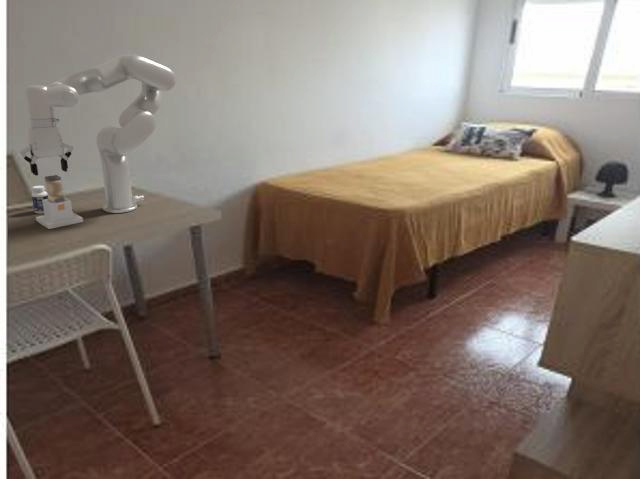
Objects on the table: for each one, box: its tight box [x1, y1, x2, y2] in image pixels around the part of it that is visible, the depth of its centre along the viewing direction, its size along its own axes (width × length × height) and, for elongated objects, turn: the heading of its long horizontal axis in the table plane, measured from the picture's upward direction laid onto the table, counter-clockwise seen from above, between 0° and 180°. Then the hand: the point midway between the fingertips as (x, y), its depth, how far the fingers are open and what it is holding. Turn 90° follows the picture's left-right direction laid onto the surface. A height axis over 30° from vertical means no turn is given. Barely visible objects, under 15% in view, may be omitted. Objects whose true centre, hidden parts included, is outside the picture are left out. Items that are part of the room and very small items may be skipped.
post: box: [44, 174, 65, 203], centre depth 190 cm, size 4×4×14 cm
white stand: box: [35, 196, 84, 230], centre depth 192 cm, size 12×12×9 cm
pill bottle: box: [31, 185, 48, 214], centre depth 202 cm, size 5×5×10 cm
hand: (50, 172), depth 187 cm, fingers open, 9 cm apart
